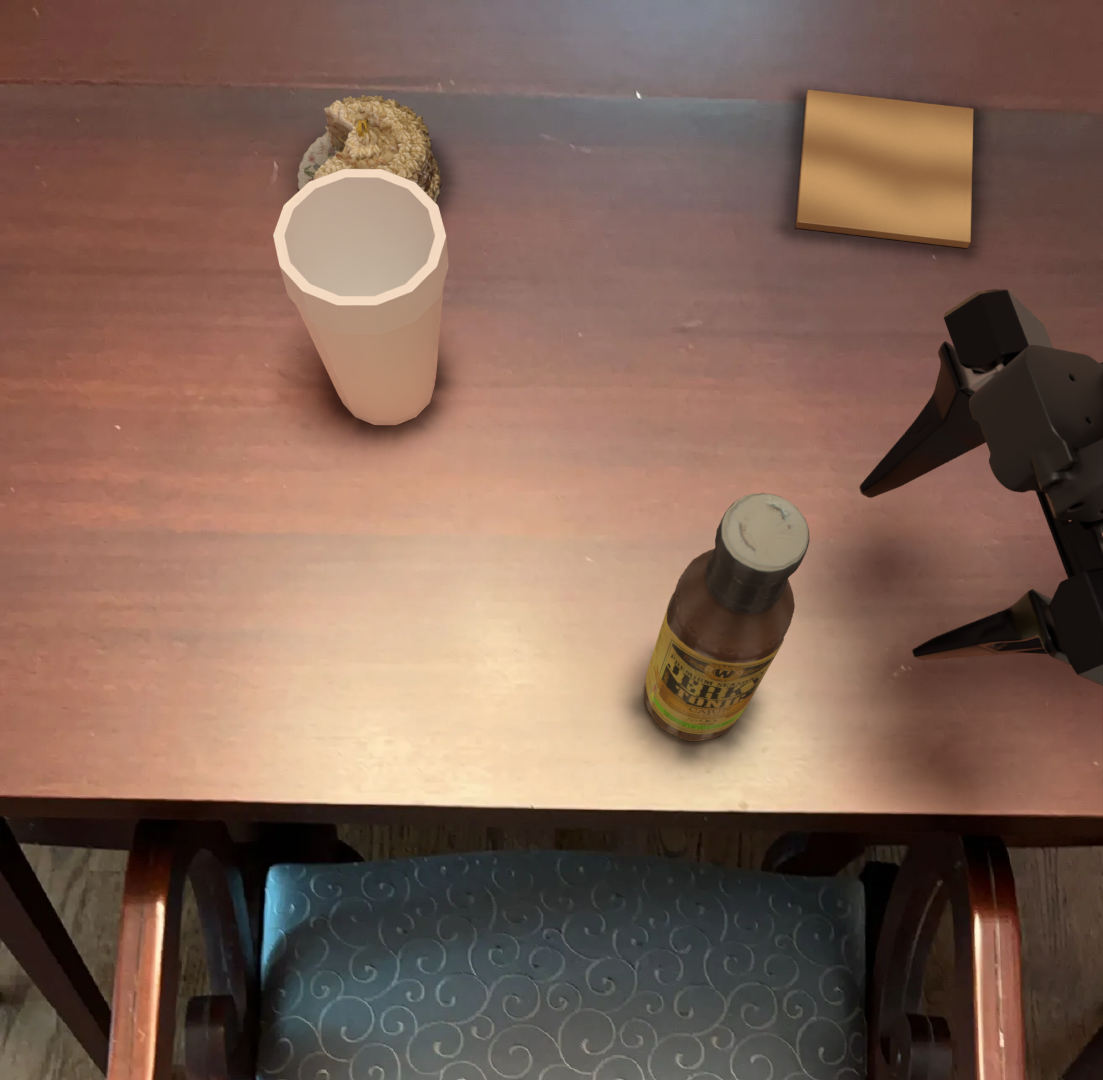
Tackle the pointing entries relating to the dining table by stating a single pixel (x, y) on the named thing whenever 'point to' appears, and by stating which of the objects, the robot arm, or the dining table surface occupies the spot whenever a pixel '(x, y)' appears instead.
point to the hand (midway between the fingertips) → (889, 572)
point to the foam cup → (368, 286)
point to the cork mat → (886, 169)
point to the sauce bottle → (727, 619)
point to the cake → (373, 143)
